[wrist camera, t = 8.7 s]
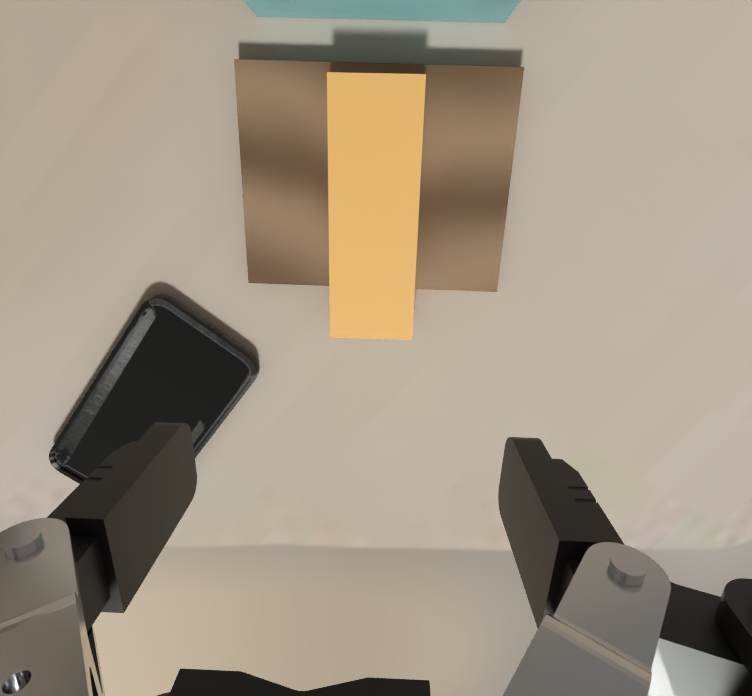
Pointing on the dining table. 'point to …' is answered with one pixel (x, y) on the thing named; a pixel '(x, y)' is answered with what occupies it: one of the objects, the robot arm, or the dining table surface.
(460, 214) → the walnut mat
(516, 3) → the ticket dispenser
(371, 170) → the ticket card
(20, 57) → the dining table surface
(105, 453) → the phone
